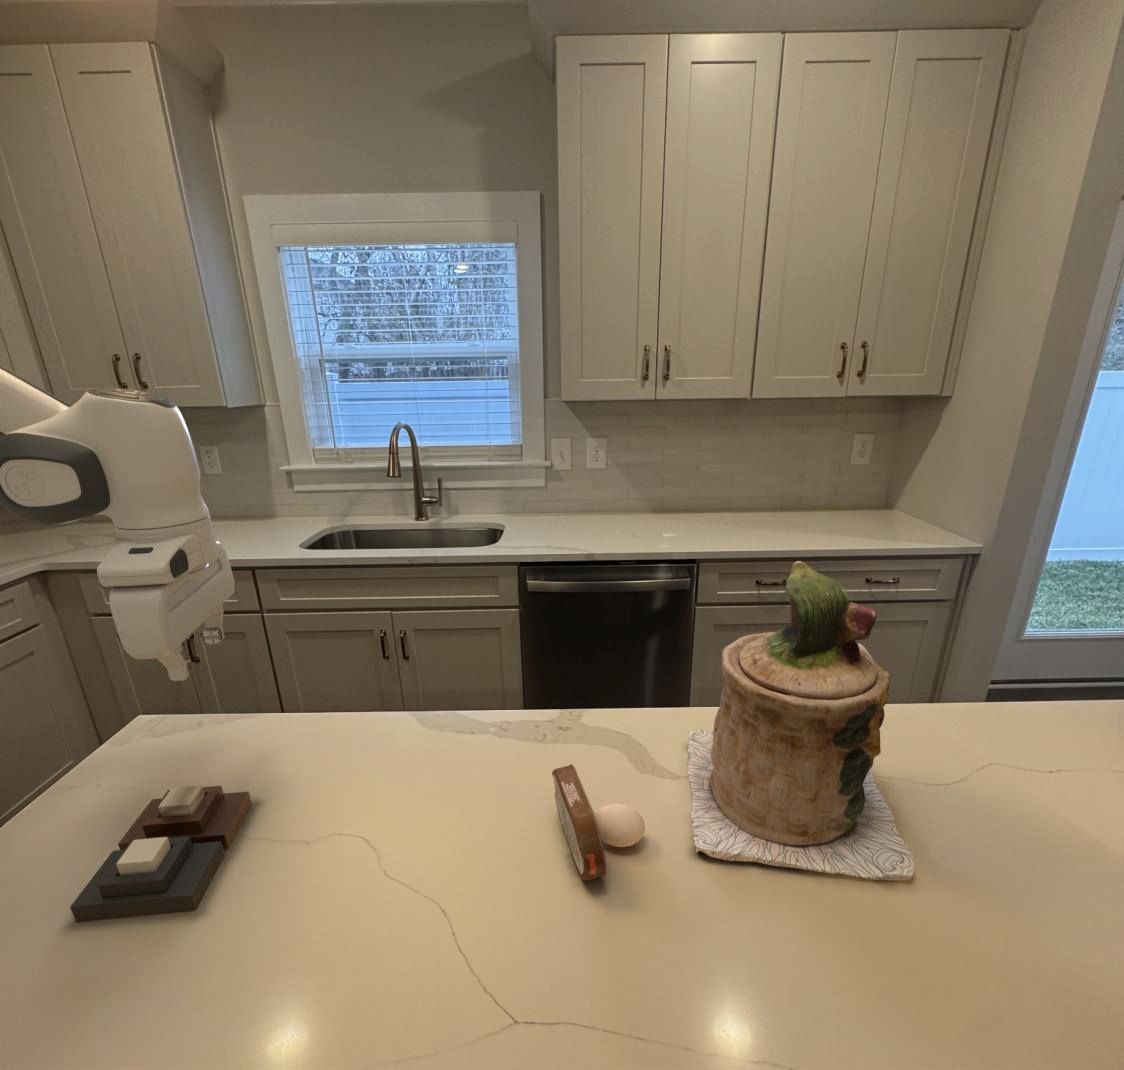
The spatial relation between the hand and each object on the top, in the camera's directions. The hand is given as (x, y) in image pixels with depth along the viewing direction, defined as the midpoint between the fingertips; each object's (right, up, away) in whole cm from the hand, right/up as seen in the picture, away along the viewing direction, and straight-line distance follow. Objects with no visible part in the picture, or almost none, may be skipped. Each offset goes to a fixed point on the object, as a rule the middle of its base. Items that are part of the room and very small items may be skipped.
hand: (199, 658), depth 72 cm
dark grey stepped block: (-3, -25, -3) cm, 26 cm away
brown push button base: (-4, -22, +5) cm, 23 cm away
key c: (-3, -22, -5) cm, 23 cm away
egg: (+53, -20, +1) cm, 57 cm away
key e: (-4, -19, +4) cm, 19 cm away
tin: (+45, -23, +1) cm, 50 cm away
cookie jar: (+72, -20, +8) cm, 75 cm away
